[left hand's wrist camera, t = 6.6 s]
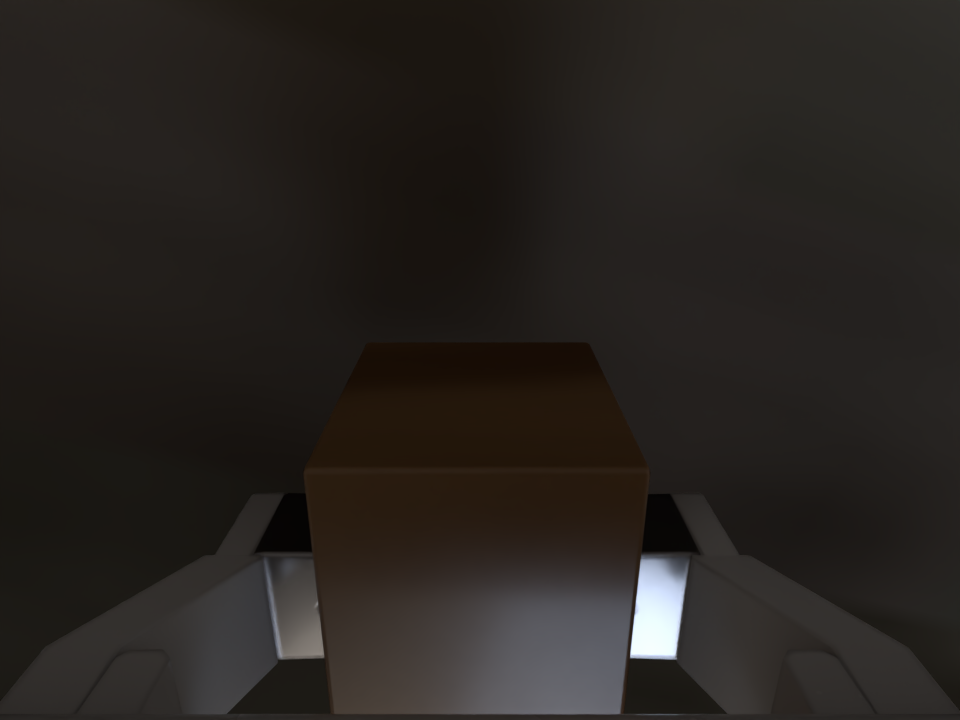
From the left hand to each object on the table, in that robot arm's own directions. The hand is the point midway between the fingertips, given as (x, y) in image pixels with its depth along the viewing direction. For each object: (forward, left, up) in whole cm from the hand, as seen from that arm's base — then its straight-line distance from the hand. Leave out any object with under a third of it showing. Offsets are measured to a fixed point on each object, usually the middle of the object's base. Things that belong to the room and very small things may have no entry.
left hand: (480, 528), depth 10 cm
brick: (0, 0, -2) cm, 2 cm away
